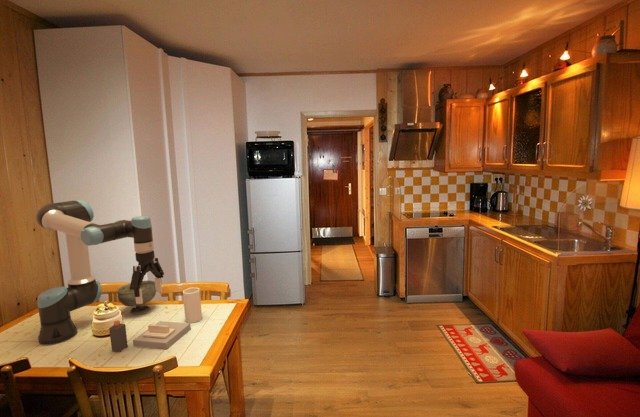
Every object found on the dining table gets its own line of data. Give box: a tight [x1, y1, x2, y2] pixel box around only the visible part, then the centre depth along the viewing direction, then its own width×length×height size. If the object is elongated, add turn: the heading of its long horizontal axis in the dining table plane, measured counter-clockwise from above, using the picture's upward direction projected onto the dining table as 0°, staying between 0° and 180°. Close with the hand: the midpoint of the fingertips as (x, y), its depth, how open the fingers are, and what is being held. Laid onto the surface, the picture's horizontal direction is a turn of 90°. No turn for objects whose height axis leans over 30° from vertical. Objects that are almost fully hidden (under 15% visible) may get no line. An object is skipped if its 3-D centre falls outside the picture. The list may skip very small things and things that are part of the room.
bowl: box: [117, 280, 157, 316], centre depth 197 cm, size 20×19×15 cm
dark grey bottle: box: [108, 320, 129, 353], centre depth 157 cm, size 4×4×13 cm
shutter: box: [143, 323, 175, 338], centre depth 164 cm, size 12×7×4 cm, turn 78°
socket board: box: [132, 320, 192, 350], centre depth 167 cm, size 17×19×3 cm
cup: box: [182, 287, 203, 324], centre depth 184 cm, size 8×8×16 cm
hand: (149, 297), depth 159 cm, fingers open, 13 cm apart
